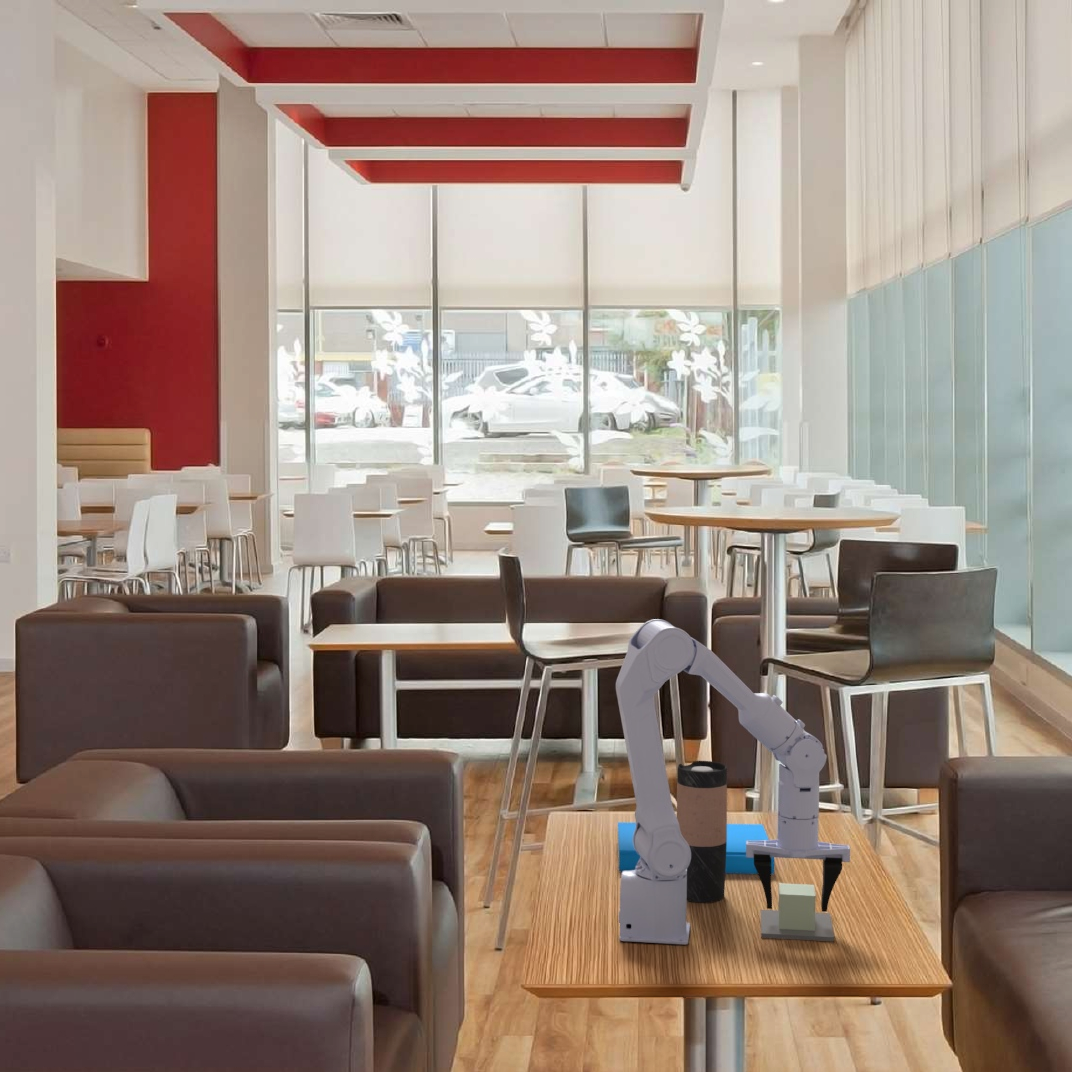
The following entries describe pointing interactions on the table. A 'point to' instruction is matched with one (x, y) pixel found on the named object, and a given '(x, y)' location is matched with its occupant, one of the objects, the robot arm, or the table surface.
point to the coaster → (772, 930)
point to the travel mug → (704, 827)
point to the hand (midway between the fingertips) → (796, 907)
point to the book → (734, 848)
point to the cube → (796, 906)
